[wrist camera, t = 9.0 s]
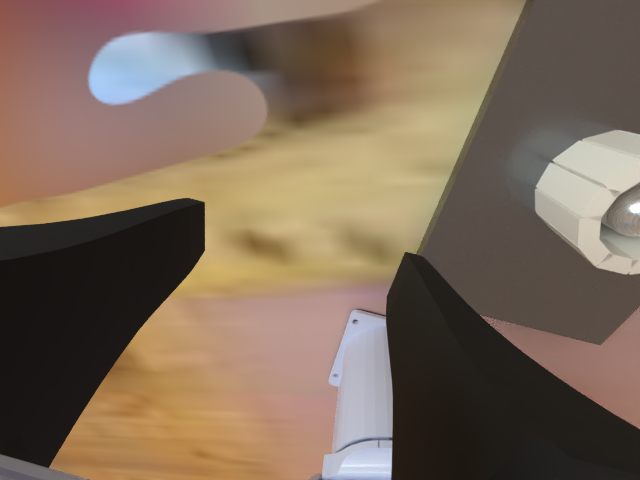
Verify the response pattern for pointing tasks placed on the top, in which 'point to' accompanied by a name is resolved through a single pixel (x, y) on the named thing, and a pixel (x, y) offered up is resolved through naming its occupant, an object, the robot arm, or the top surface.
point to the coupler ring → (592, 198)
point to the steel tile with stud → (529, 165)
